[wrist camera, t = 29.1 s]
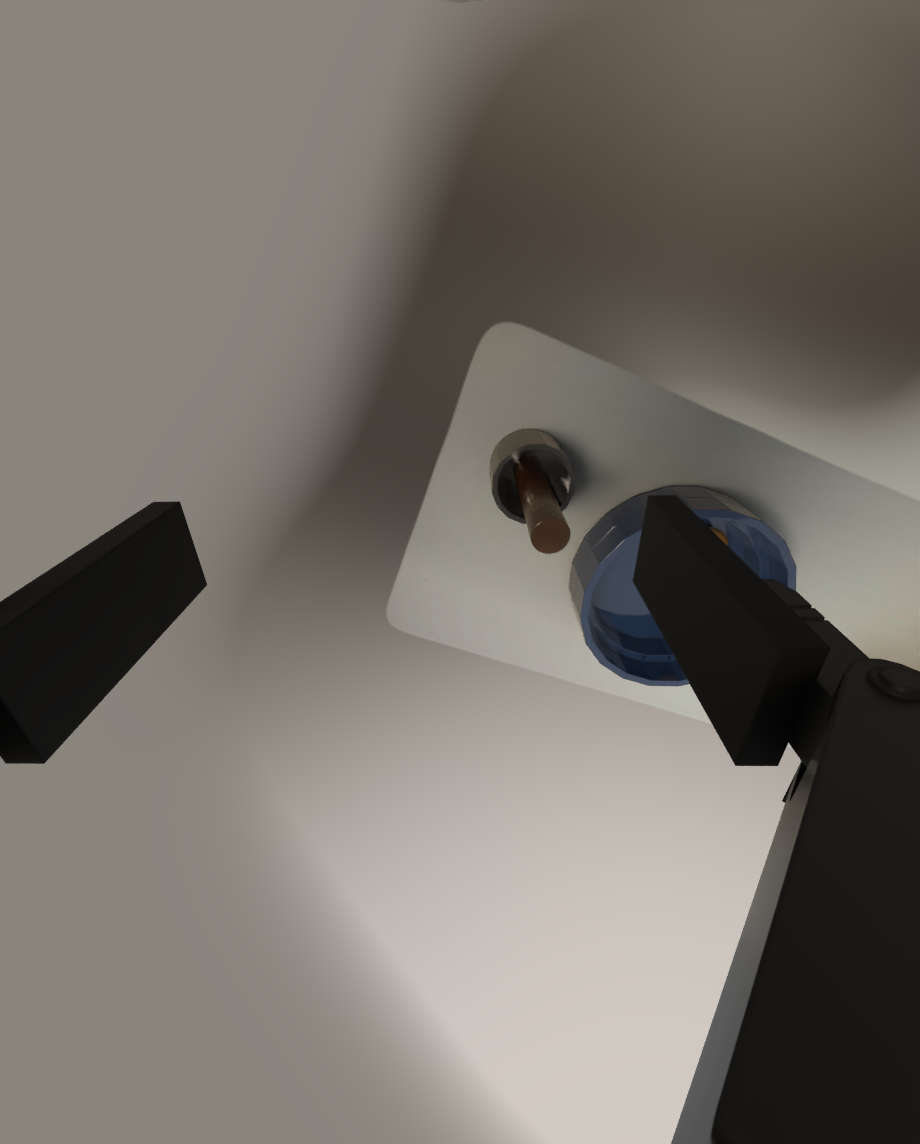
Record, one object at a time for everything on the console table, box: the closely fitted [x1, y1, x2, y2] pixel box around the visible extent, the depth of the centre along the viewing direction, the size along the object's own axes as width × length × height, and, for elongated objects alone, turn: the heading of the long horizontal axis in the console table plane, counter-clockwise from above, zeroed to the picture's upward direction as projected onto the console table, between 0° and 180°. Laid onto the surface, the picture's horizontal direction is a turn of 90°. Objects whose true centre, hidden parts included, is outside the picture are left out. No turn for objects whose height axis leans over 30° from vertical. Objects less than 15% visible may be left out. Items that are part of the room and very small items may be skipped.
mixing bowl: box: [569, 487, 796, 686], centre depth 51 cm, size 21×21×7 cm
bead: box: [709, 527, 728, 546], centre depth 50 cm, size 4×4×4 cm
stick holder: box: [490, 429, 576, 524], centre depth 46 cm, size 7×7×6 cm
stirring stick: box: [513, 455, 570, 554], centre depth 41 cm, size 3×3×16 cm
